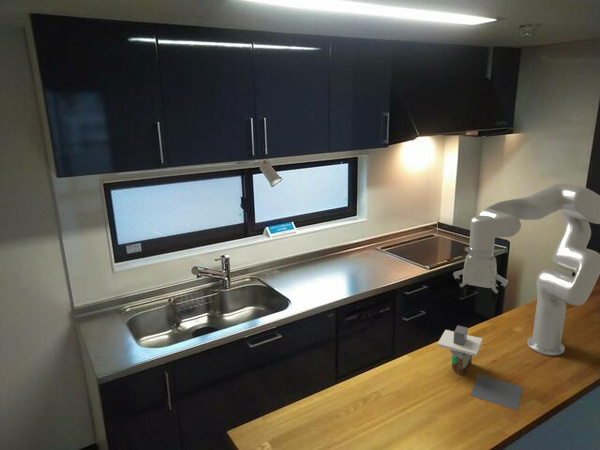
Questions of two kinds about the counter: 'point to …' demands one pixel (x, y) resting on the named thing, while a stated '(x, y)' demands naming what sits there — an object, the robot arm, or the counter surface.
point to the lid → (460, 341)
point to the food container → (460, 361)
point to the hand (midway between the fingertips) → (478, 299)
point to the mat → (497, 392)
